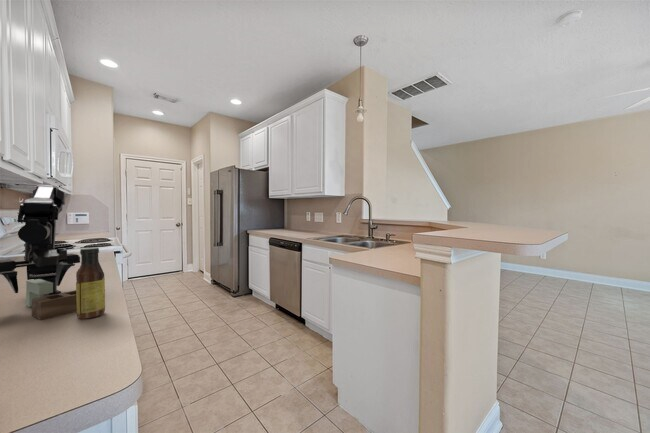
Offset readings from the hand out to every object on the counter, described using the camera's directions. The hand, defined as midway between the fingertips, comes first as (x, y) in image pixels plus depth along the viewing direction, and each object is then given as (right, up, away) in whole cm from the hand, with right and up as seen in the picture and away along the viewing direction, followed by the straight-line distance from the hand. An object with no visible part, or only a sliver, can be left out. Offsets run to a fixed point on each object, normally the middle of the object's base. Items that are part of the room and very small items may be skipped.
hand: (38, 289), depth 82 cm
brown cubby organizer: (+12, -6, -3) cm, 13 cm away
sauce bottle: (+22, -6, -6) cm, 24 cm away
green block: (+1, -6, 0) cm, 6 cm away
